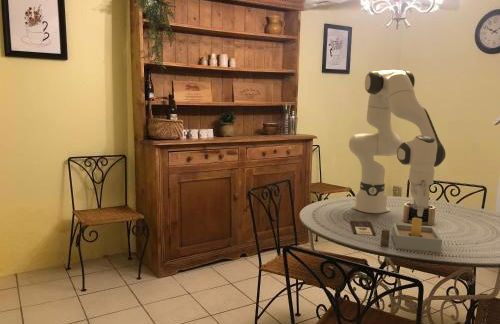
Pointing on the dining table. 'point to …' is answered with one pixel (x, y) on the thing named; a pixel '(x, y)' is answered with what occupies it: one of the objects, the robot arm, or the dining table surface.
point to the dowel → (416, 227)
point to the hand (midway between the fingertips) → (417, 212)
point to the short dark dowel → (385, 237)
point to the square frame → (416, 238)
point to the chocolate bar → (362, 228)
